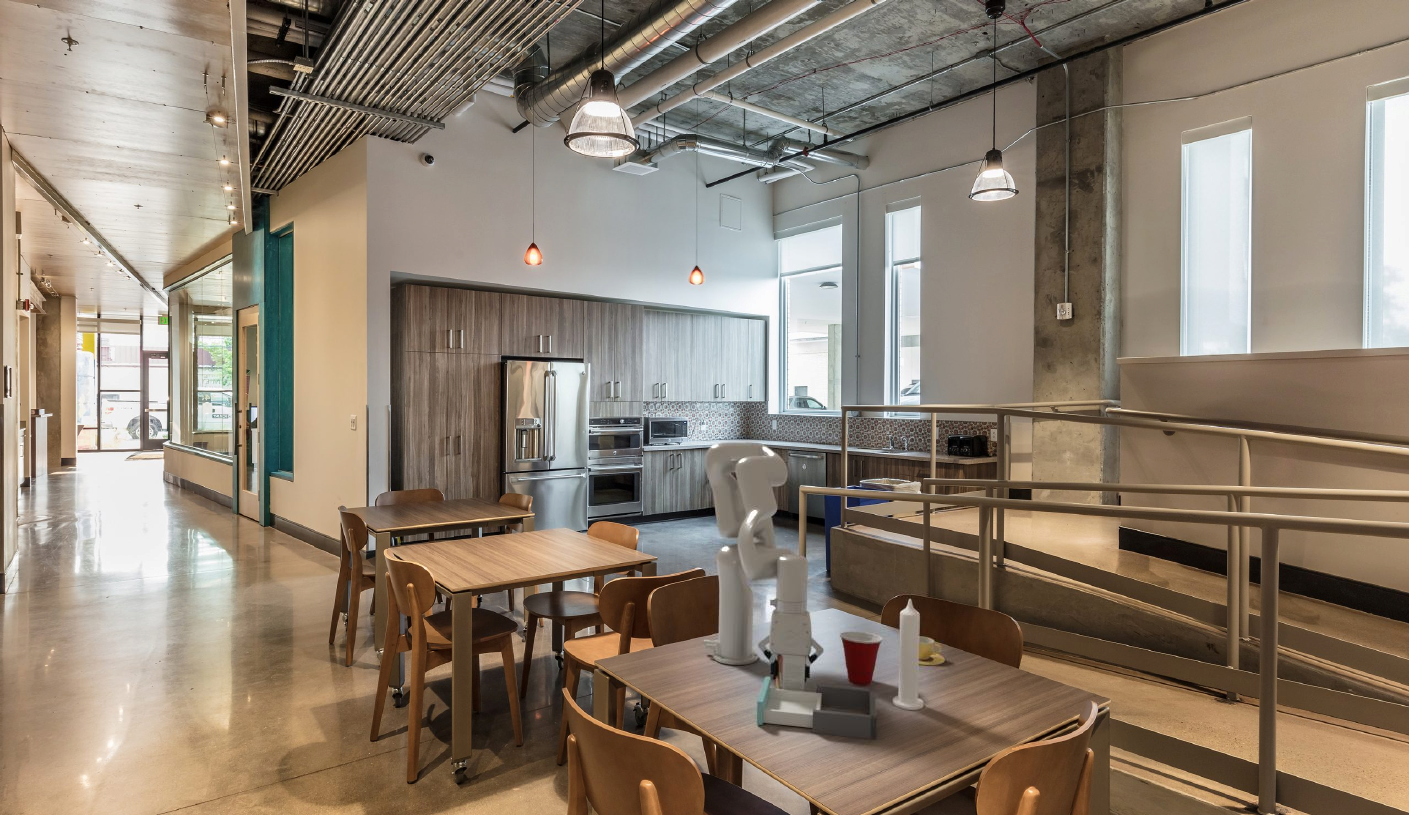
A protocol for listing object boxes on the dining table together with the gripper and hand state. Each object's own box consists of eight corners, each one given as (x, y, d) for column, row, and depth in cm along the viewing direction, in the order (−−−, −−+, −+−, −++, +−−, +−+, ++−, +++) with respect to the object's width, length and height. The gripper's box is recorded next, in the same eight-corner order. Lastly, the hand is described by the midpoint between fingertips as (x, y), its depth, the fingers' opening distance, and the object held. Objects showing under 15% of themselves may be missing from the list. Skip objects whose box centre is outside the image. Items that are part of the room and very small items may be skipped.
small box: (775, 687, 181) (776, 645, 181) (797, 687, 181) (798, 645, 181) (781, 700, 173) (782, 656, 173) (804, 700, 173) (805, 656, 173)
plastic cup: (886, 678, 189) (887, 632, 189) (876, 692, 179) (877, 643, 179) (845, 670, 194) (846, 625, 194) (833, 684, 184) (834, 636, 184)
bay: (812, 732, 156) (812, 711, 156) (816, 703, 172) (816, 684, 172) (876, 739, 153) (876, 718, 153) (874, 708, 169) (874, 689, 169)
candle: (924, 700, 175) (926, 596, 175) (922, 712, 168) (925, 604, 168) (893, 696, 177) (896, 593, 177) (891, 707, 170) (893, 600, 170)
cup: (898, 662, 202) (898, 643, 202) (902, 649, 213) (903, 631, 213) (943, 669, 197) (944, 649, 197) (945, 655, 208) (946, 636, 209)
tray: (756, 724, 159) (757, 701, 159) (765, 697, 174) (765, 676, 174) (818, 730, 156) (819, 707, 156) (821, 703, 171) (822, 681, 171)
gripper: (754, 607, 175) (752, 681, 175) (826, 612, 172) (825, 688, 172) (758, 599, 182) (756, 670, 182) (827, 604, 179) (826, 676, 179)
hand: (790, 678), depth 177 cm, fingers closed on small box, 6 cm apart
